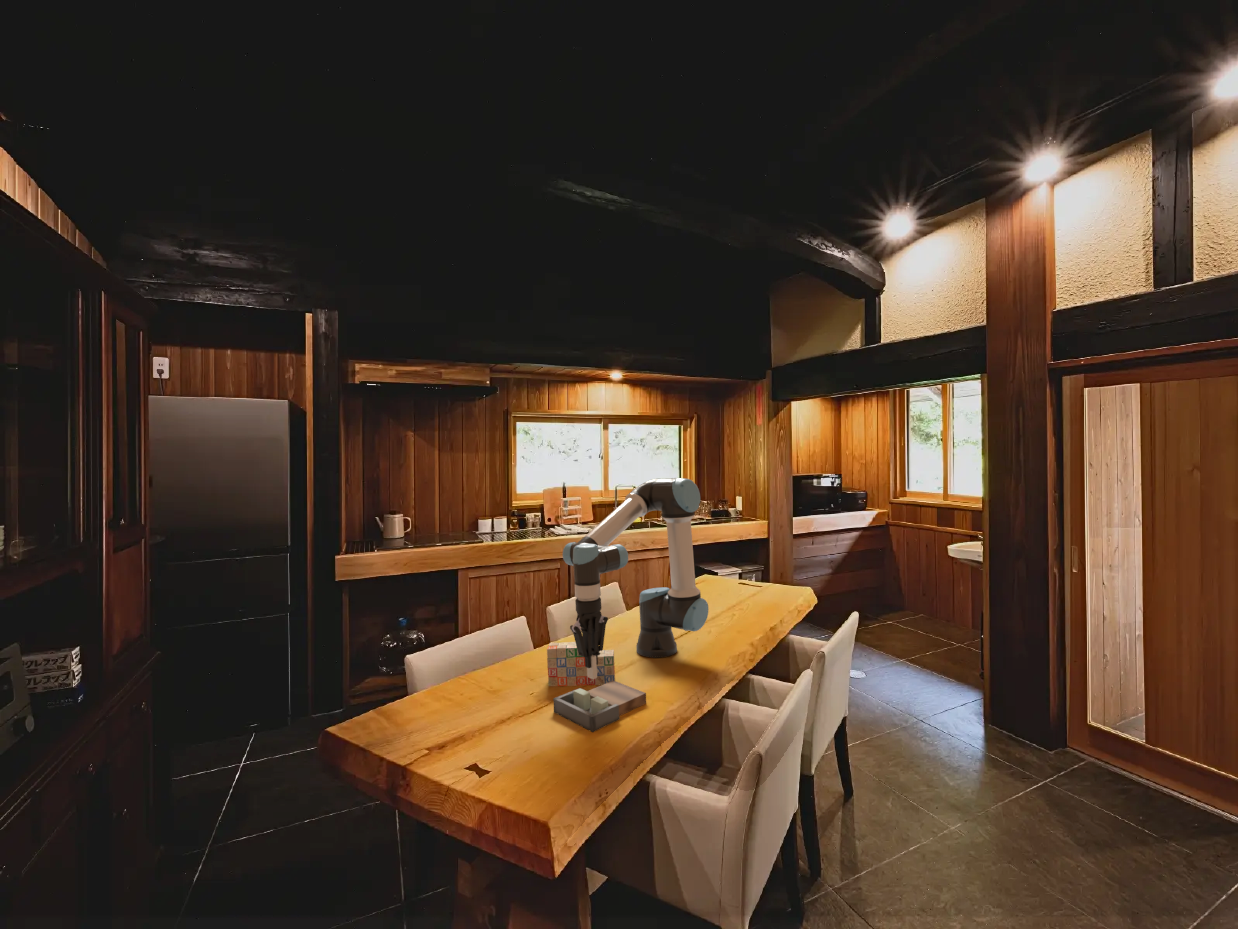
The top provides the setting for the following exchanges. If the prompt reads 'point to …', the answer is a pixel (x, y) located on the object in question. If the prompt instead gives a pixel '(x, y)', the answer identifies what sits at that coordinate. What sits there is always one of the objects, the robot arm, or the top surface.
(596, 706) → the tile
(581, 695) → the tile
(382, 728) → the top surface
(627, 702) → the board
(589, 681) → the stack of blocks
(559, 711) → the tray
